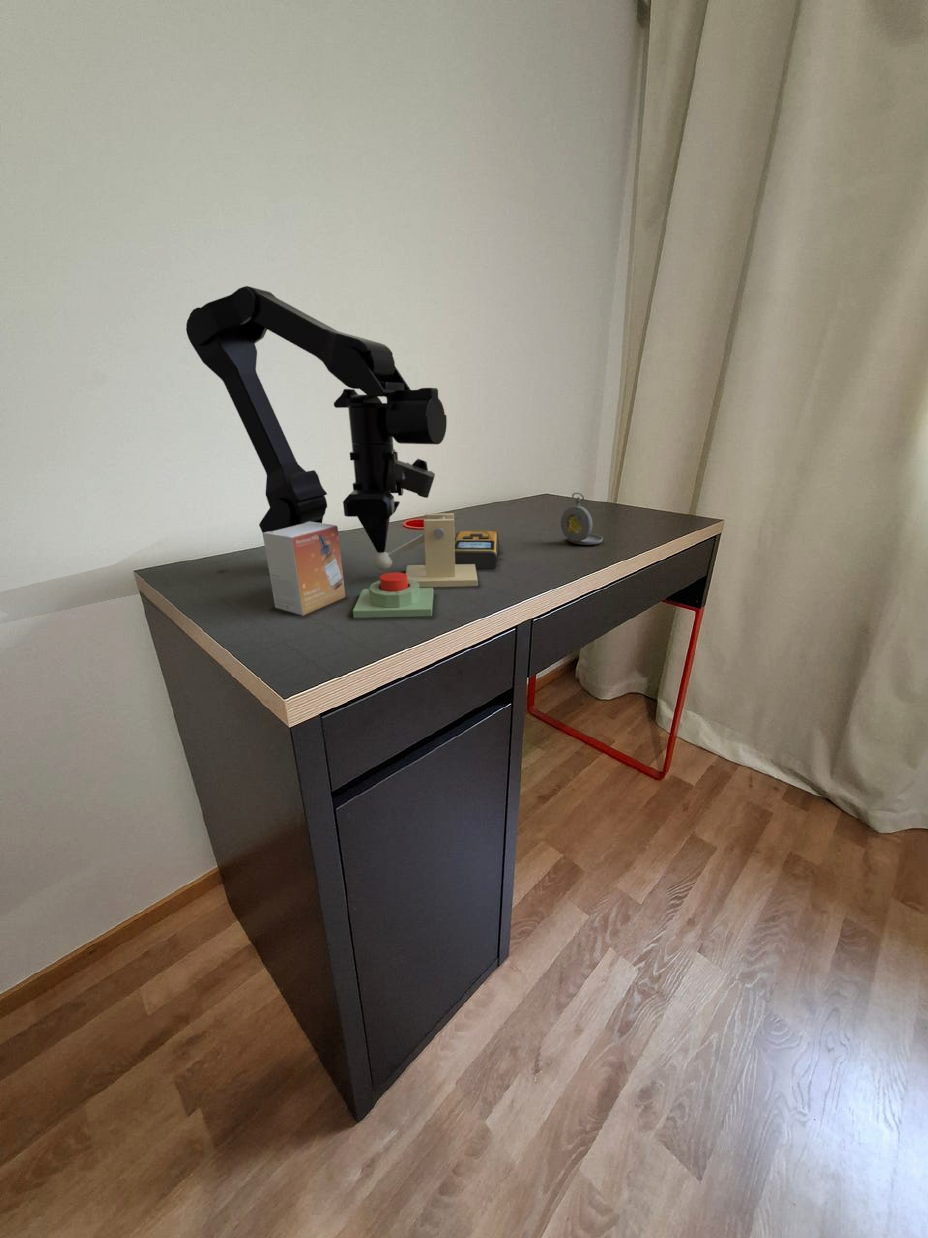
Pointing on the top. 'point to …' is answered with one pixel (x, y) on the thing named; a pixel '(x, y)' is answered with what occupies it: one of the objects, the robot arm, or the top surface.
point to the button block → (394, 602)
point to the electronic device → (477, 548)
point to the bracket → (441, 557)
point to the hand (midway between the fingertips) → (381, 551)
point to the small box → (305, 566)
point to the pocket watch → (579, 525)
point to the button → (393, 582)
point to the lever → (397, 552)
